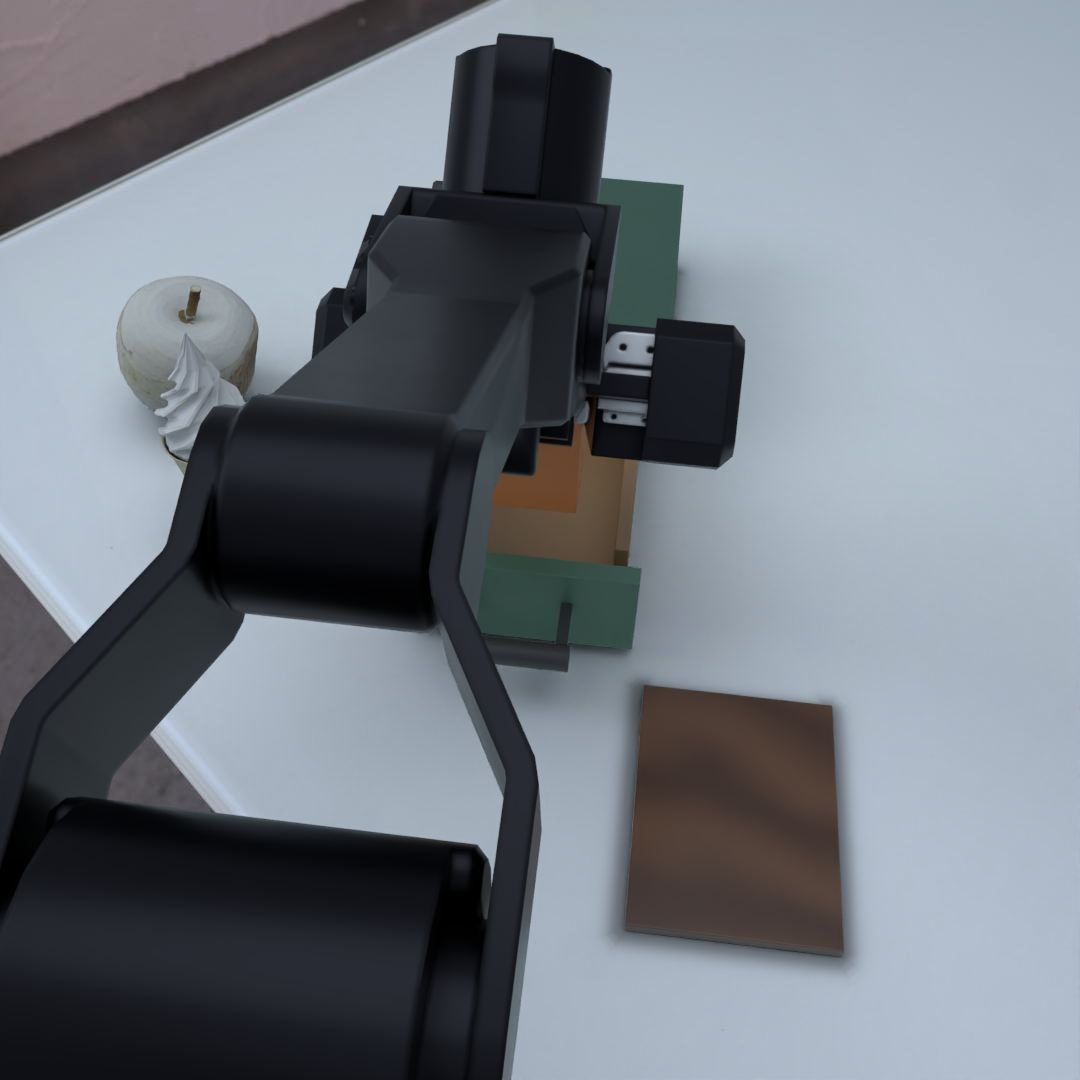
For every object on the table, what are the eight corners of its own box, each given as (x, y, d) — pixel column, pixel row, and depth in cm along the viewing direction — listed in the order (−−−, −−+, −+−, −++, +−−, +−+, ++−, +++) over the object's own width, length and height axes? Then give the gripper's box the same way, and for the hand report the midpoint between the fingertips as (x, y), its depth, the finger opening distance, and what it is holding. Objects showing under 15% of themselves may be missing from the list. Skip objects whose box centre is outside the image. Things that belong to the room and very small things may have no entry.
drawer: (626, 712, 68) (634, 647, 64) (391, 685, 69) (385, 620, 65) (651, 427, 84) (659, 362, 80) (460, 408, 85) (458, 342, 81)
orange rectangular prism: (575, 513, 67) (587, 340, 59) (478, 503, 67) (477, 329, 59) (583, 461, 70) (595, 289, 62) (490, 452, 70) (490, 279, 62)
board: (841, 957, 60) (844, 951, 60) (623, 930, 61) (624, 924, 60) (830, 712, 70) (832, 705, 69) (642, 691, 70) (643, 684, 70)
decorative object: (141, 368, 88) (110, 240, 81) (273, 364, 89) (254, 237, 82) (124, 457, 82) (89, 327, 75) (266, 451, 83) (245, 322, 75)
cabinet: (659, 442, 84) (670, 354, 79) (450, 421, 85) (448, 333, 80) (673, 269, 98) (684, 184, 93) (493, 252, 99) (493, 167, 94)
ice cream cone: (168, 552, 76) (115, 346, 66) (215, 497, 80) (172, 292, 69) (243, 578, 75) (202, 372, 64) (288, 520, 78) (255, 315, 68)
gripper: (776, 169, 50) (740, 255, 65) (295, 127, 51) (372, 221, 67) (745, 461, 50) (716, 477, 66) (266, 412, 51) (350, 439, 67)
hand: (538, 397), depth 66 cm, fingers closed on orange rectangular prism, 5 cm apart
